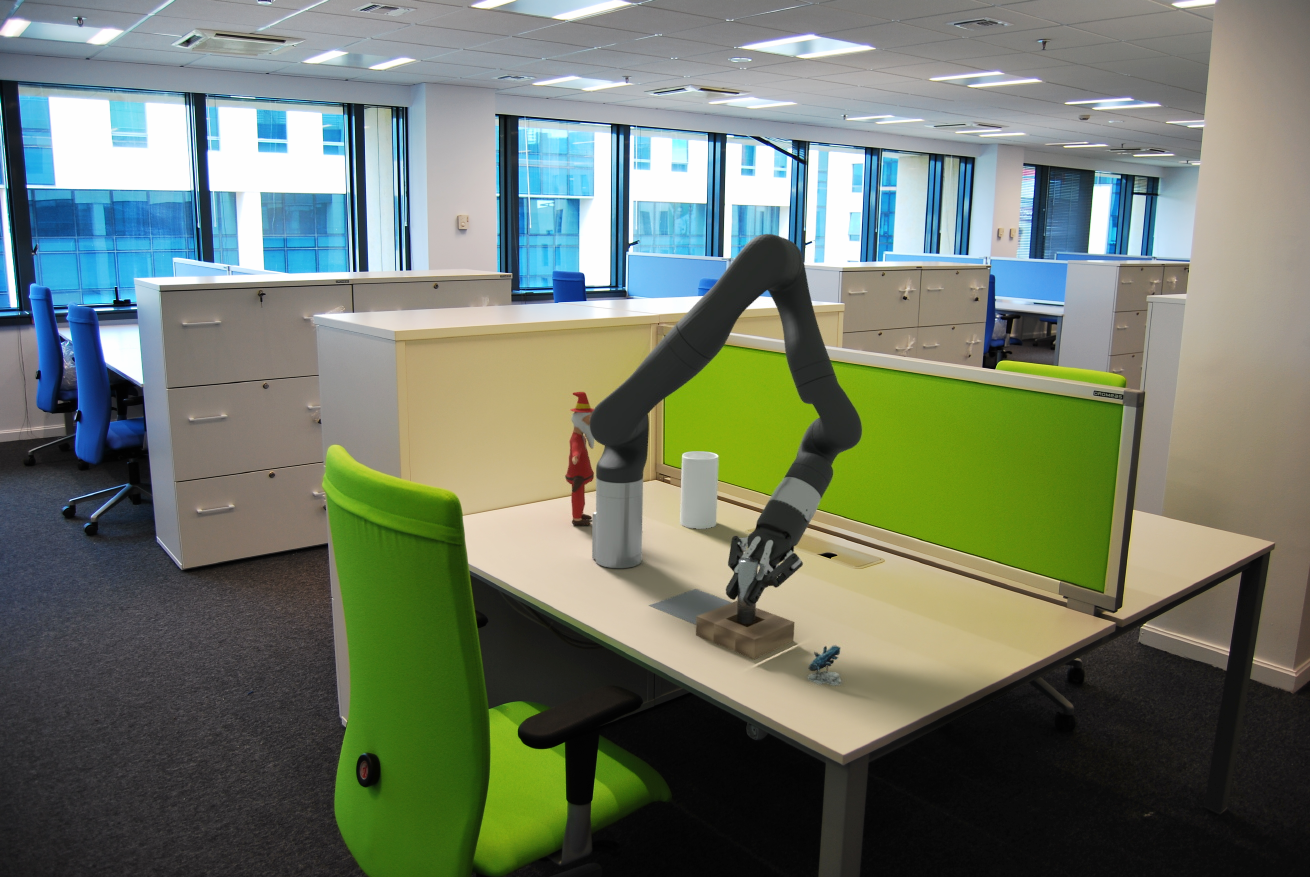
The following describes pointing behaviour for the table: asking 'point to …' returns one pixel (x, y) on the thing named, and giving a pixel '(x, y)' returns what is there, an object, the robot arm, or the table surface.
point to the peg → (745, 578)
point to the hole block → (745, 631)
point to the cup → (699, 489)
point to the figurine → (580, 458)
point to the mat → (690, 605)
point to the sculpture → (822, 662)
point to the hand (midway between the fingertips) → (738, 599)
